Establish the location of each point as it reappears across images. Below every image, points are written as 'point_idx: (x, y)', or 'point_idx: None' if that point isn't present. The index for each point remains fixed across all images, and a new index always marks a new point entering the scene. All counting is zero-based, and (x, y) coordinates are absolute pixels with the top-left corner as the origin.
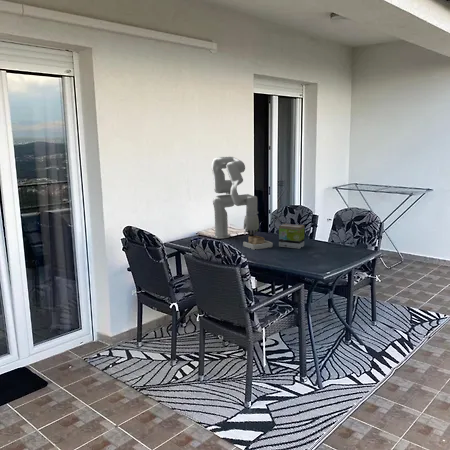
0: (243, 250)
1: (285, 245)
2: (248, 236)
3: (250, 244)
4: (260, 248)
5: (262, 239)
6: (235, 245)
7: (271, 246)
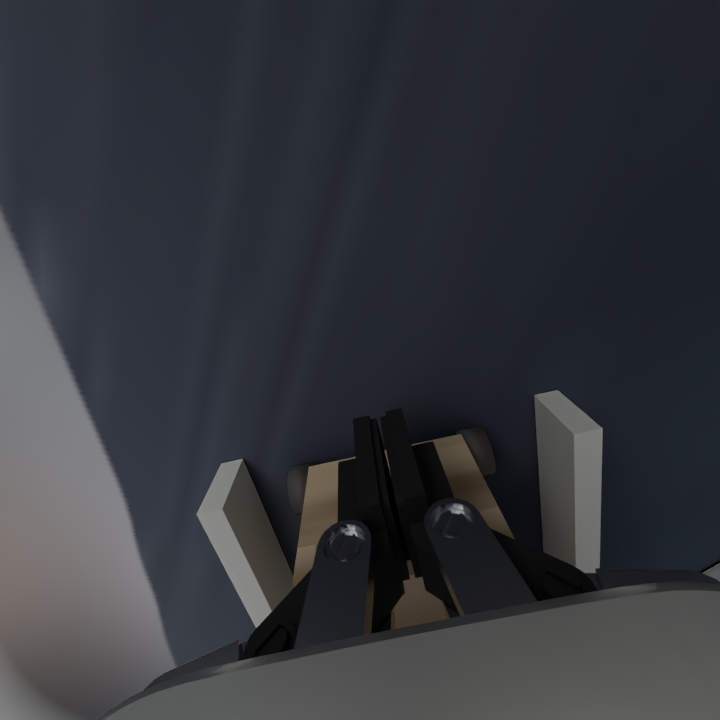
0: (181, 643)
1: None
2: (293, 582)
3: None
4: None
5: None
6: (98, 385)
7: None
